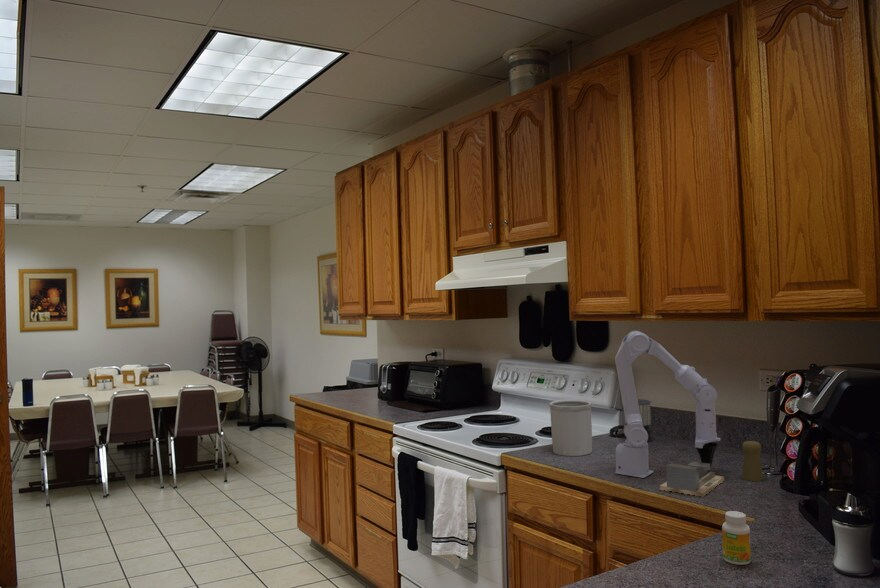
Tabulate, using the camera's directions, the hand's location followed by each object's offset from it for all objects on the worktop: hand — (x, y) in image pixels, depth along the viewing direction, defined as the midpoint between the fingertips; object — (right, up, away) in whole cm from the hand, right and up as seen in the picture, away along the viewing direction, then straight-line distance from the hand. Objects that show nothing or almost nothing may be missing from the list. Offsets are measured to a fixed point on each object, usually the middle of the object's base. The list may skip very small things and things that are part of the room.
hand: (706, 467), depth 201 cm
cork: (+12, -2, -5) cm, 13 cm away
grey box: (-13, -2, -16) cm, 21 cm away
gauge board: (-8, -3, -10) cm, 13 cm away
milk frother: (-8, -3, +52) cm, 52 cm away
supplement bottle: (-19, -3, -63) cm, 65 cm away
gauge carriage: (-4, -1, -7) cm, 8 cm away
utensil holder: (-35, -4, +33) cm, 48 cm away
